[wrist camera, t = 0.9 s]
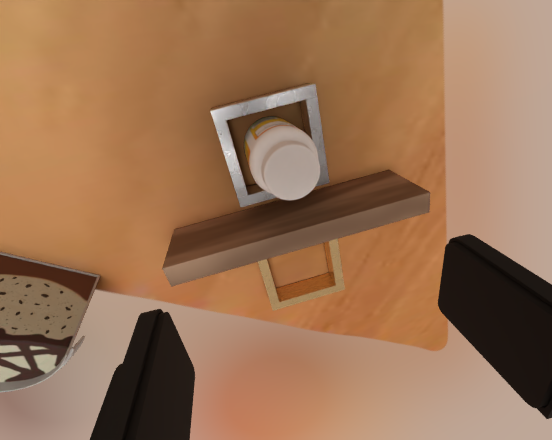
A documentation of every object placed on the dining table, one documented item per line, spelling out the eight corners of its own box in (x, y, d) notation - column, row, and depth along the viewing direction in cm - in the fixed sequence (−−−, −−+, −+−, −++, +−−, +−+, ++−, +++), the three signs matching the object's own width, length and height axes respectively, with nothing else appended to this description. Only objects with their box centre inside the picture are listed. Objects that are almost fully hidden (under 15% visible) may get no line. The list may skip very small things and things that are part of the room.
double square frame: (211, 108, 26) (210, 110, 24) (307, 83, 26) (315, 83, 24) (269, 296, 37) (272, 310, 34) (337, 276, 37) (344, 289, 35)
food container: (-27, 294, 30) (-132, 386, 21) (-23, 246, 28) (-137, 325, 19) (102, 319, 34) (60, 405, 25) (115, 278, 32) (74, 356, 23)
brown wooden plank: (174, 229, 30) (162, 268, 24) (389, 169, 32) (430, 192, 25) (181, 245, 31) (171, 286, 25) (389, 186, 32) (429, 212, 26)
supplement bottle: (281, 180, 30) (305, 221, 21) (233, 156, 28) (239, 191, 20) (307, 132, 28) (345, 156, 20) (259, 104, 26) (277, 117, 18)
